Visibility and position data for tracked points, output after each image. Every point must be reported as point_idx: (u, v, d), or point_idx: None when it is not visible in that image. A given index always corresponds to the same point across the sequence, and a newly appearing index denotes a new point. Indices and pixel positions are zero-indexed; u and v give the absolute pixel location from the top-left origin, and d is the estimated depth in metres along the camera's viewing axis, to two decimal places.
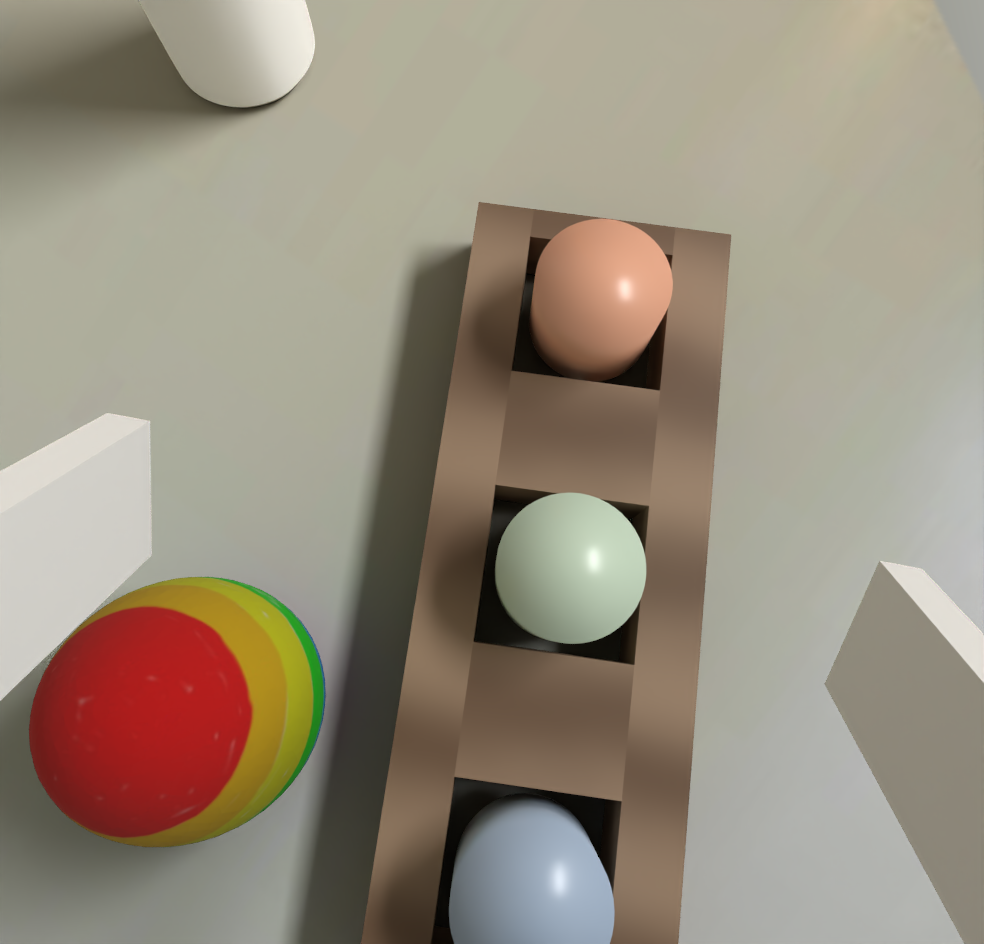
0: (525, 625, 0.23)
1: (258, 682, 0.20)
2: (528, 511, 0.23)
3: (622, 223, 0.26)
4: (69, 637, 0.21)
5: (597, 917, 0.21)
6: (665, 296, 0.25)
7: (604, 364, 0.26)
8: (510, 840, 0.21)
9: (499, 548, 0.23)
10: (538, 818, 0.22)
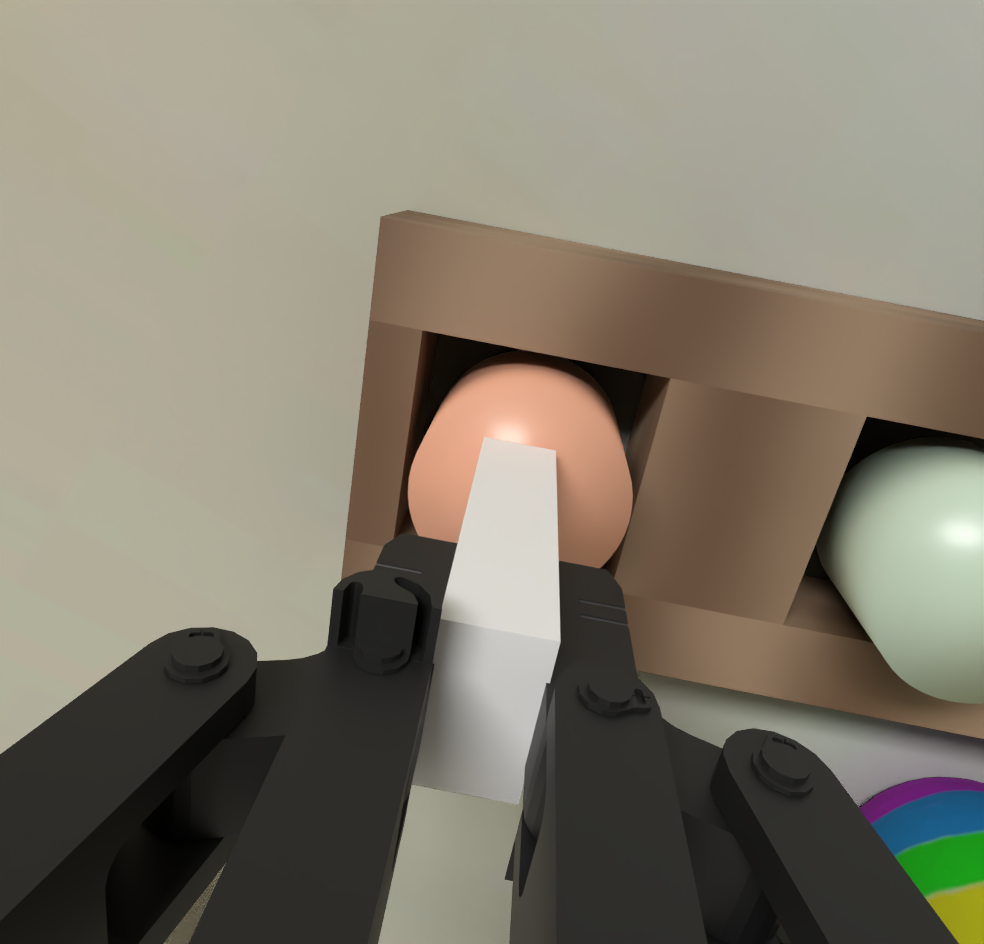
0: None
1: None
2: (893, 656, 0.15)
3: (415, 462, 0.15)
4: None
5: None
6: (553, 408, 0.15)
7: None
8: None
9: (940, 697, 0.16)
10: None
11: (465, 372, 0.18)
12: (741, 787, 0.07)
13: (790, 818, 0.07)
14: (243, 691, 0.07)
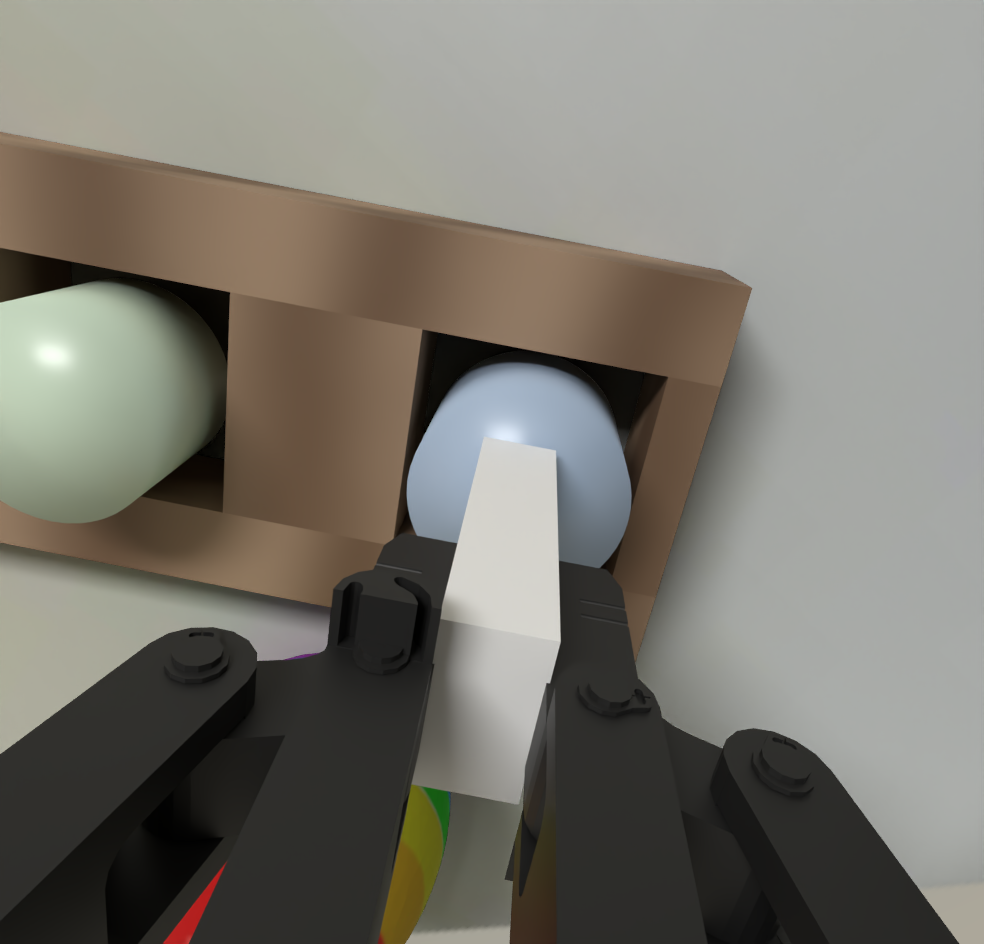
0: (140, 490, 0.15)
1: None
2: None
3: None
4: None
5: (531, 416, 0.15)
6: None
7: None
8: (431, 519, 0.16)
9: (39, 517, 0.16)
10: None
11: None
12: (741, 787, 0.07)
13: (790, 818, 0.07)
14: (243, 690, 0.07)
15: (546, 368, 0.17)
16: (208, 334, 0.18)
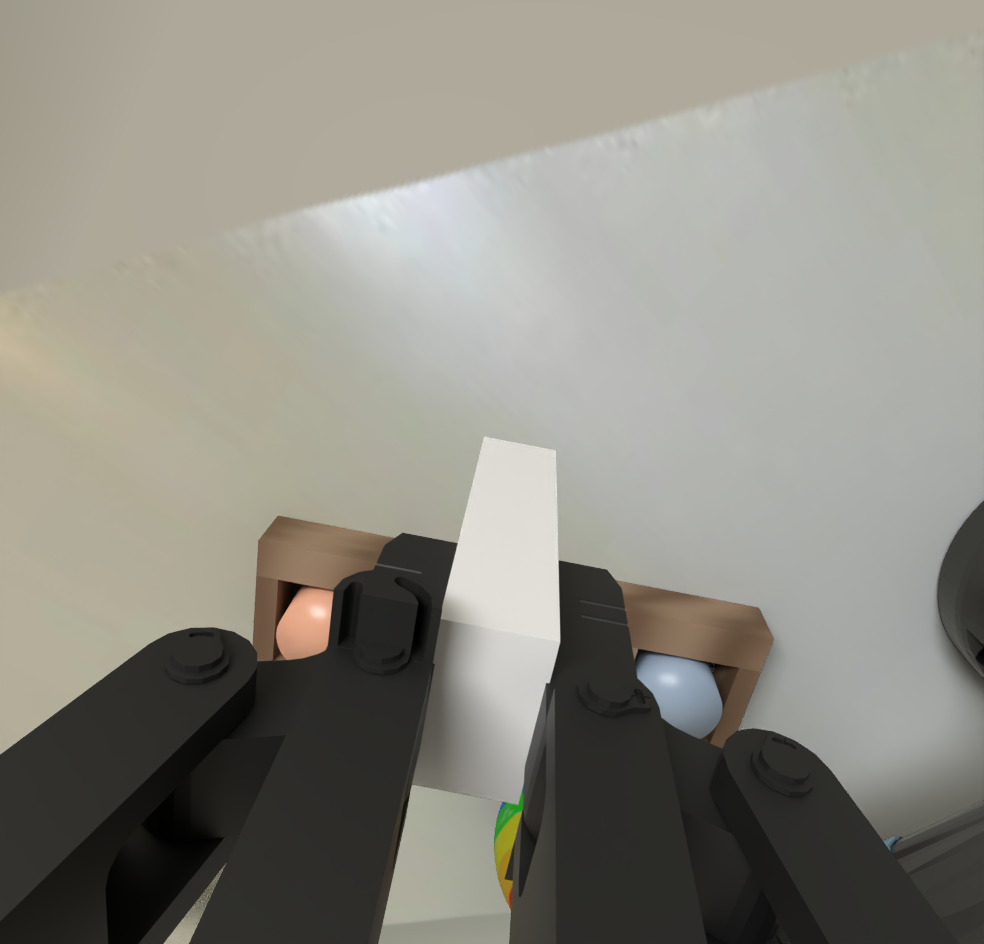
0: None
1: None
2: None
3: (278, 627, 0.39)
4: None
5: (686, 682, 0.39)
6: (327, 610, 0.39)
7: None
8: None
9: None
10: None
11: None
12: (740, 787, 0.07)
13: (789, 818, 0.07)
14: (244, 690, 0.07)
15: None
16: None
